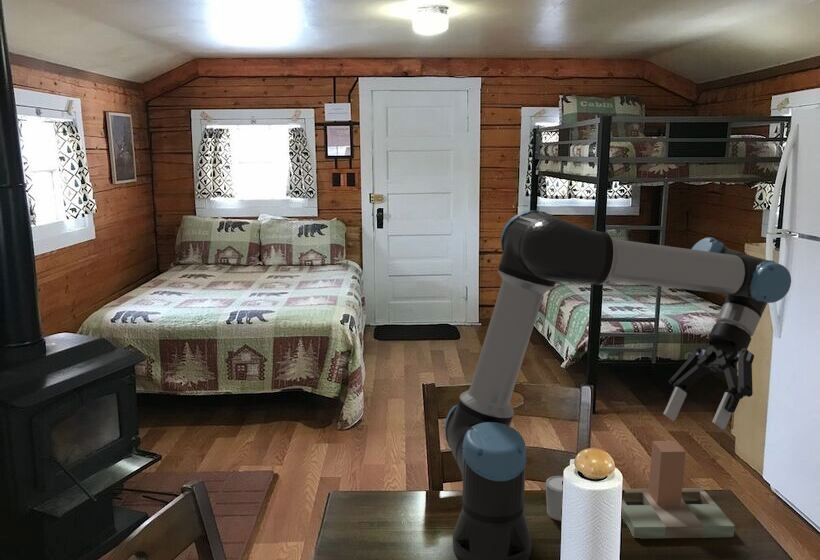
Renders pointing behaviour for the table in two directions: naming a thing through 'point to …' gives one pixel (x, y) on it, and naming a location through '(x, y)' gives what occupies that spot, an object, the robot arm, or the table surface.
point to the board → (674, 516)
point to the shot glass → (554, 496)
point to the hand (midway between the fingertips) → (692, 421)
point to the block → (666, 472)
